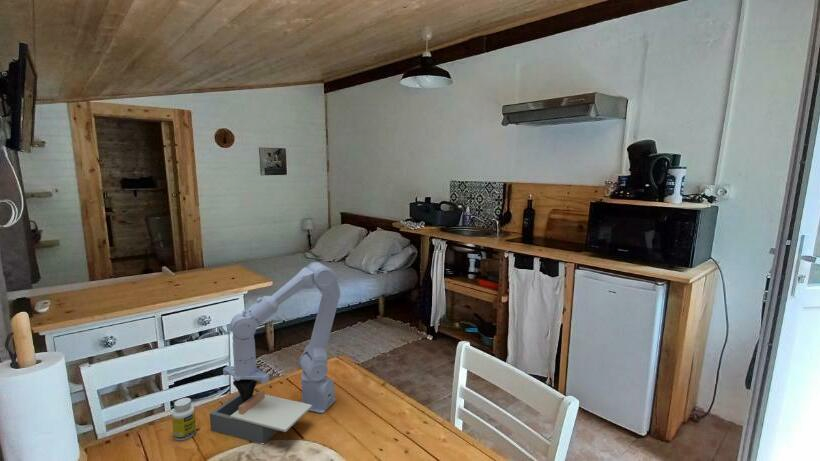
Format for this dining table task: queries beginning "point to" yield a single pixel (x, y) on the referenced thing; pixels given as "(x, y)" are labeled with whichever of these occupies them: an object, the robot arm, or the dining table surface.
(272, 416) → the lid
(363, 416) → the dining table surface
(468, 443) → the dining table surface
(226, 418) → the gray open box
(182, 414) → the supplement bottle
